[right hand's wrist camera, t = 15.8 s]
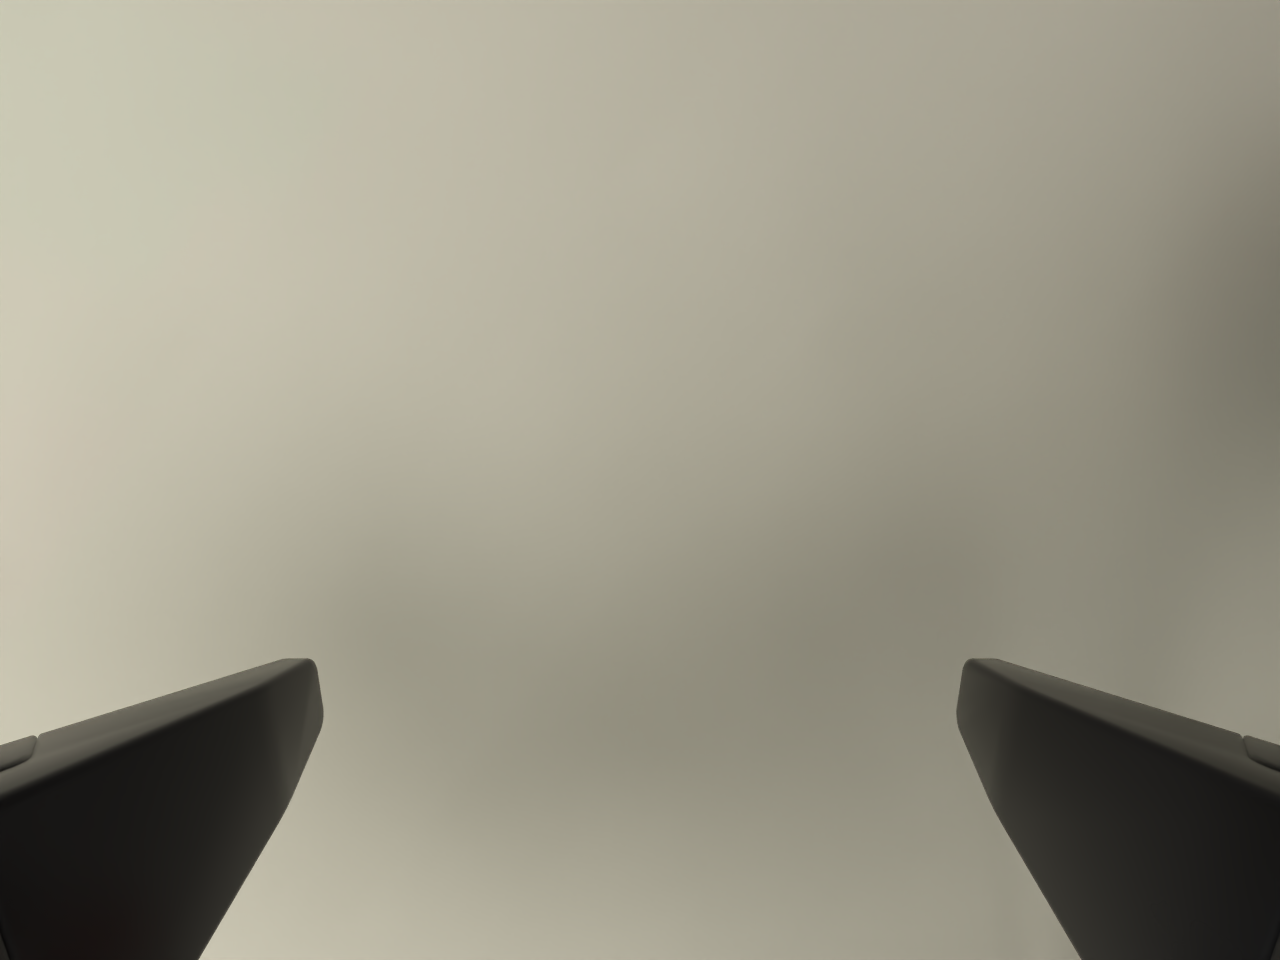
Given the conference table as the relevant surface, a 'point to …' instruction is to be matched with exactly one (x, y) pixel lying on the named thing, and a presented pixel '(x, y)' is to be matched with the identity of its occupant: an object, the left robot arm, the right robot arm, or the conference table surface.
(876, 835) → the conference table surface
